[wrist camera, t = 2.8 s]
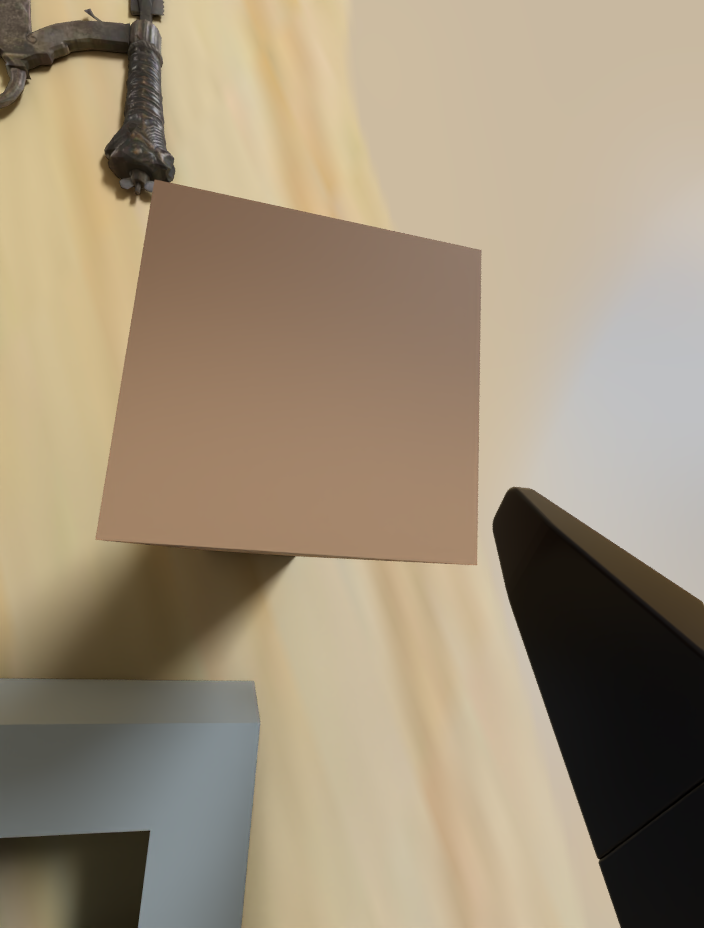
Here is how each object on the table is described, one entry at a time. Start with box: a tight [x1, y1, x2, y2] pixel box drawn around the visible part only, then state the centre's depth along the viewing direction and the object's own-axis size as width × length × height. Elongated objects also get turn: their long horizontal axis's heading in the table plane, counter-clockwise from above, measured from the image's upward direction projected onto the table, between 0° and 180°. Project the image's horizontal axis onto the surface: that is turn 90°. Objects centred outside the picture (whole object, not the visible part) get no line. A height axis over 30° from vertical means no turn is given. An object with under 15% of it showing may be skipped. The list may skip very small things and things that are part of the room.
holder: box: [0, 678, 260, 928], centre depth 12 cm, size 9×9×4 cm
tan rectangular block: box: [95, 180, 481, 565], centre depth 10 cm, size 3×3×13 cm
